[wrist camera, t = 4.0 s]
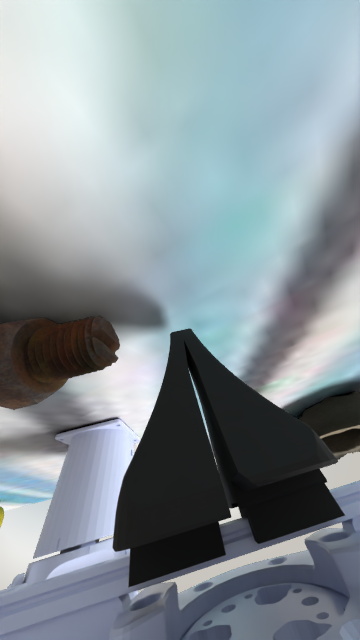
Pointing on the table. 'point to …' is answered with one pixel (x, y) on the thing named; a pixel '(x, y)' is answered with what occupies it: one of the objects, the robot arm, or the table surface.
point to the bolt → (50, 356)
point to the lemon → (1, 515)
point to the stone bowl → (336, 423)
